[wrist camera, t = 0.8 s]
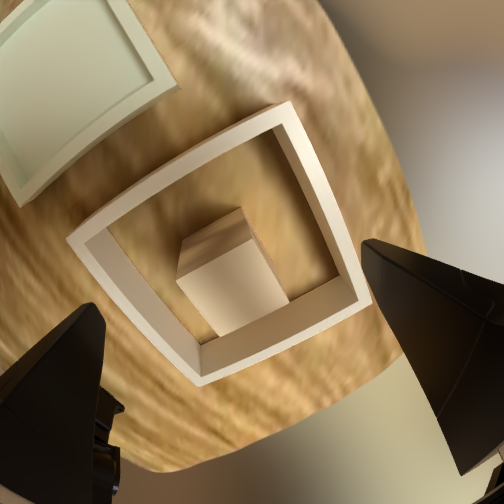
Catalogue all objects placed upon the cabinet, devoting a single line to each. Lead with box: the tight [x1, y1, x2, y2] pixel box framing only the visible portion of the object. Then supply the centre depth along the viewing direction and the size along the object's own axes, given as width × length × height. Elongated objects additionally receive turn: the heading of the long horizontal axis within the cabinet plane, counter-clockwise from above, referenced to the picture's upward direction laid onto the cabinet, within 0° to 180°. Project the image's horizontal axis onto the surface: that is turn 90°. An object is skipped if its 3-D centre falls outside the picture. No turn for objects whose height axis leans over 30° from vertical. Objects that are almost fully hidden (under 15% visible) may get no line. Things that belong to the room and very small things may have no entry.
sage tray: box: [0, 0, 181, 208], centre depth 14 cm, size 14×14×2 cm
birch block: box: [175, 207, 290, 337], centre depth 20 cm, size 5×5×6 cm
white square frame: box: [66, 100, 372, 387], centre depth 21 cm, size 16×16×4 cm
